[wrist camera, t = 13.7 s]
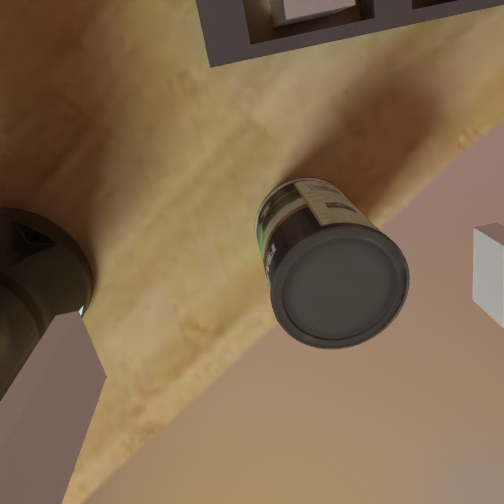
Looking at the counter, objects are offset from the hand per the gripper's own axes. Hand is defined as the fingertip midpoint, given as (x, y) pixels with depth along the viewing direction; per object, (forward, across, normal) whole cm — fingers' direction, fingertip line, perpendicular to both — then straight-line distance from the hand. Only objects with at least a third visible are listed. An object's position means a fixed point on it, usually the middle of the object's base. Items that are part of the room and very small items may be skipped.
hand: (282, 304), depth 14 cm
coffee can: (+29, +5, -9) cm, 31 cm away
